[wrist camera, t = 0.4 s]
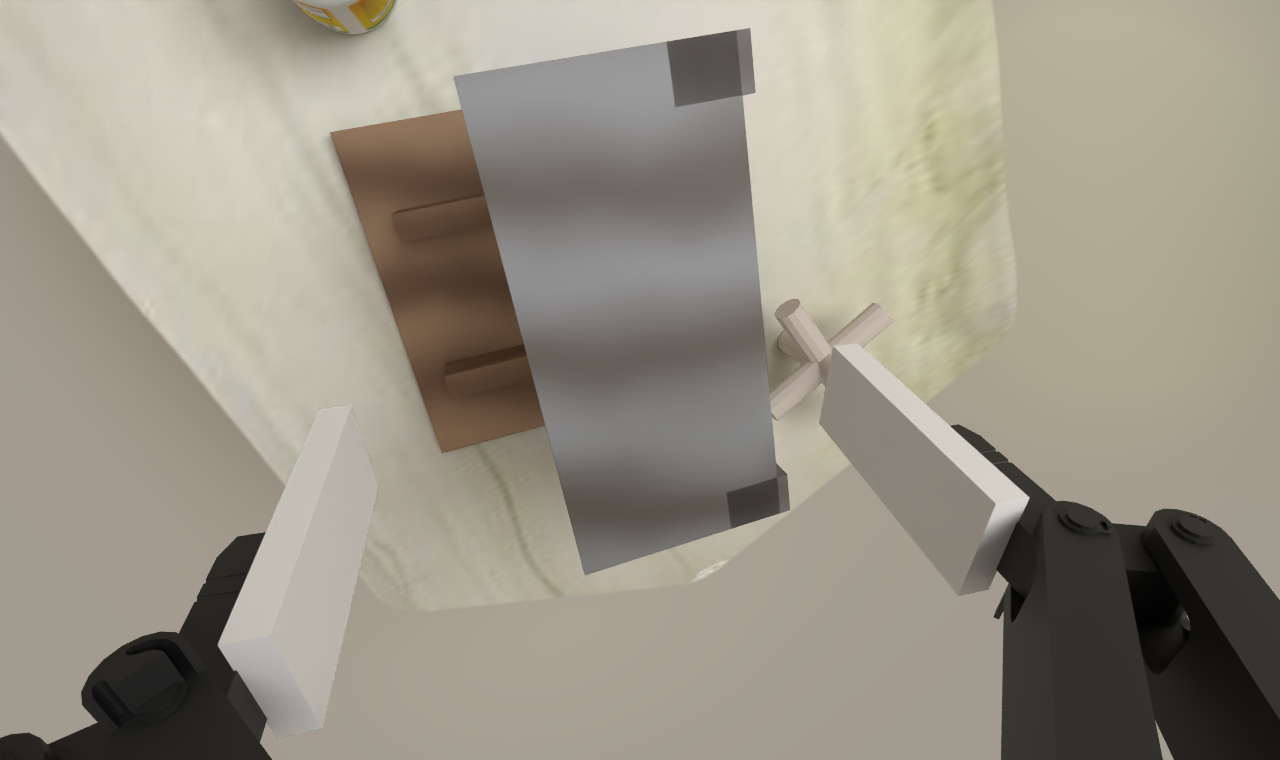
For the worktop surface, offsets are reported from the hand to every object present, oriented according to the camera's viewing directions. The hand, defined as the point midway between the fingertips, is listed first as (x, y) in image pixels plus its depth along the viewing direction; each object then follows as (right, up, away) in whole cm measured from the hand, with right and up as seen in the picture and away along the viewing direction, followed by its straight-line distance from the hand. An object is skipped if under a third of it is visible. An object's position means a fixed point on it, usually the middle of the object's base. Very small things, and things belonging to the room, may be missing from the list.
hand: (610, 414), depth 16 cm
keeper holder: (-6, +8, +22) cm, 24 cm away
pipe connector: (+12, +4, +28) cm, 31 cm away
